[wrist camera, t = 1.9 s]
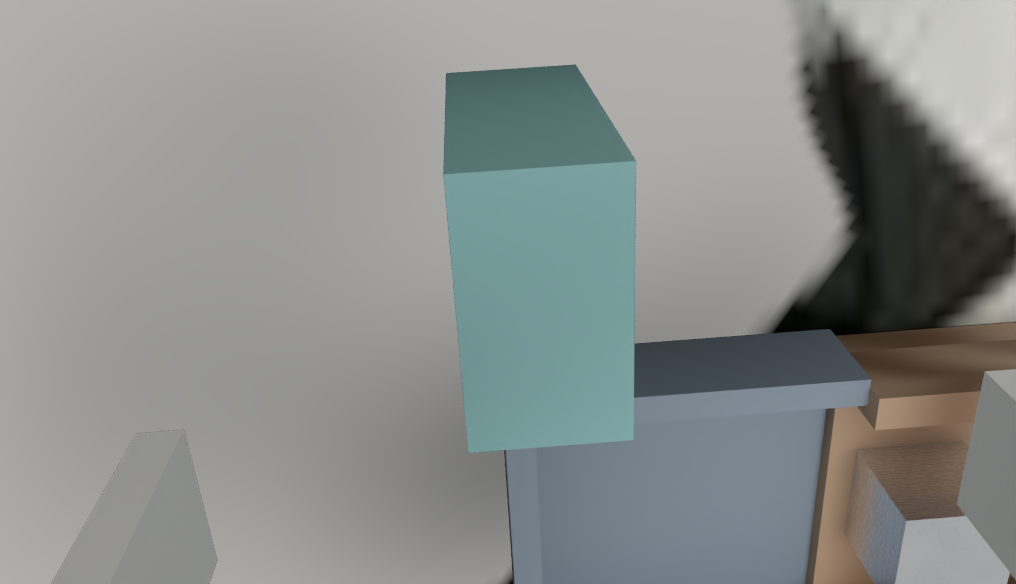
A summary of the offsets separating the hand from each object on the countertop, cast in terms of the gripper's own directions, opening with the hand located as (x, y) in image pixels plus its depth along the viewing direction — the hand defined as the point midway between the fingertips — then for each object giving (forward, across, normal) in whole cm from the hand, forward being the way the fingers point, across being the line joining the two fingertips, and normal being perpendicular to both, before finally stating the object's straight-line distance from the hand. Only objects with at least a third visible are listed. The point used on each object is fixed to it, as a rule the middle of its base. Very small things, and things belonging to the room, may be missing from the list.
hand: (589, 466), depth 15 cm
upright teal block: (+16, 0, 0) cm, 16 cm away
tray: (+16, +5, -13) cm, 21 cm away
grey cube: (+14, +14, -13) cm, 24 cm away
